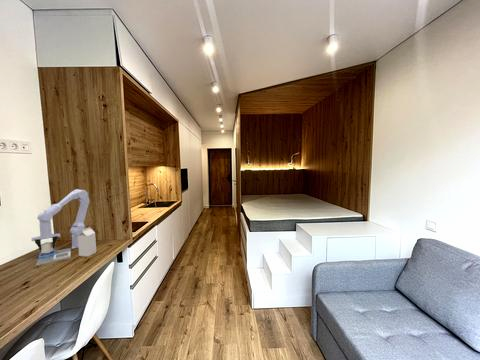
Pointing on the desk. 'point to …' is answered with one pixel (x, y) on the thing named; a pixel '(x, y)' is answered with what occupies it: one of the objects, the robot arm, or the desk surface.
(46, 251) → the plug
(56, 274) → the desk surface
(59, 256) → the duct panel
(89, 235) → the milk carton
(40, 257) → the blue bezel
